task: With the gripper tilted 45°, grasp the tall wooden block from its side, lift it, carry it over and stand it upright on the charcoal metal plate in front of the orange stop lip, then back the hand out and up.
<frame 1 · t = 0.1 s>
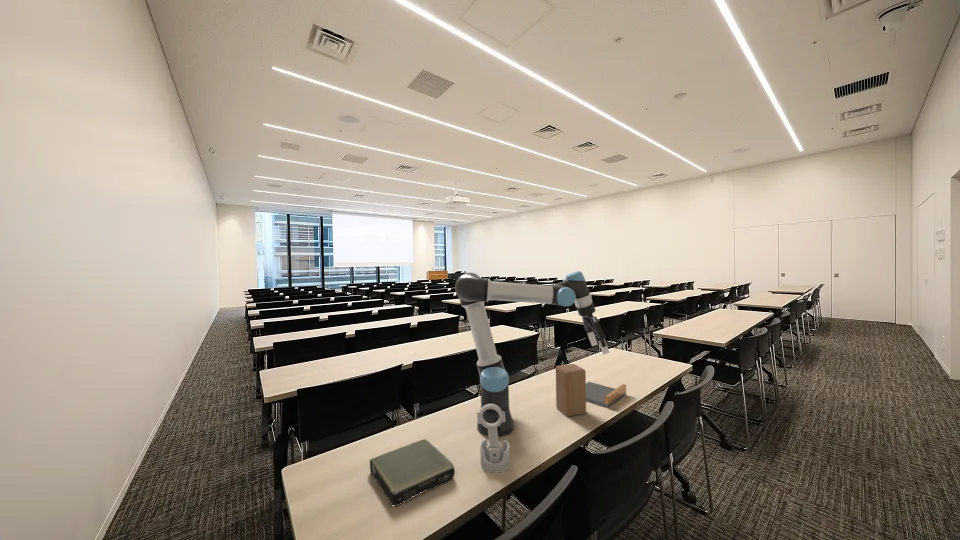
hand: (600, 349, 151), 28 cm above the table, tool tilted 20°, fingers open, 13 cm apart
mounting plate: (597, 395, 168), on the table
network switch: (412, 477, 110), on the table
wooden block: (570, 411, 152), on the table
engine component: (493, 463, 115), on the table
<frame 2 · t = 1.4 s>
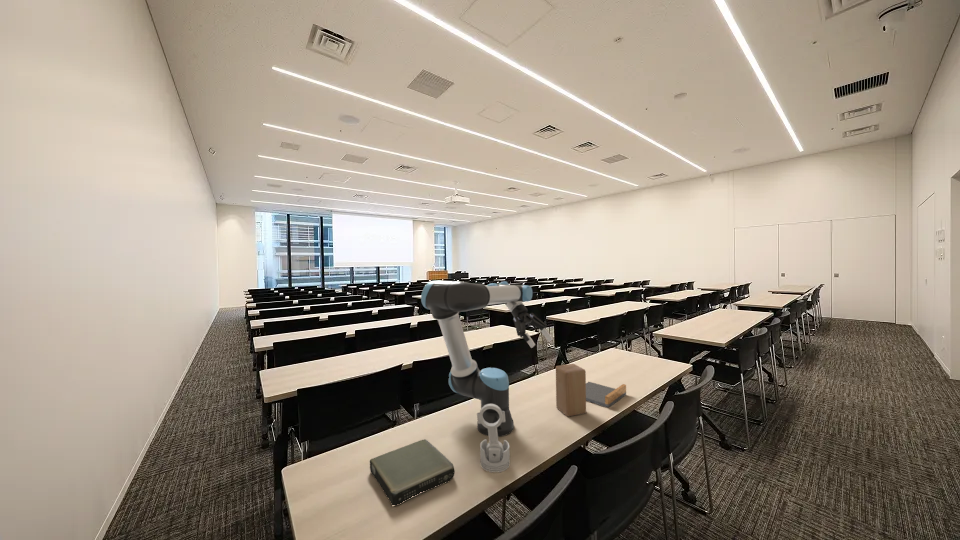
hand: (542, 343, 157), 30 cm above the table, tool tilted 45°, fingers open, 13 cm apart
nothing on the table moved.
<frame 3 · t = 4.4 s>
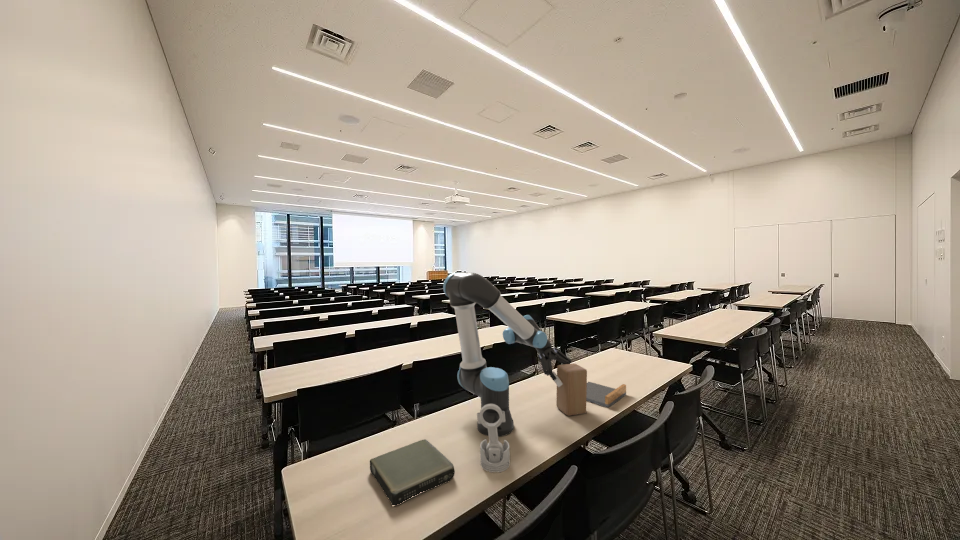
hand: (568, 381, 154), 13 cm above the table, tool tilted 45°, fingers open, 13 cm apart
nothing on the table moved.
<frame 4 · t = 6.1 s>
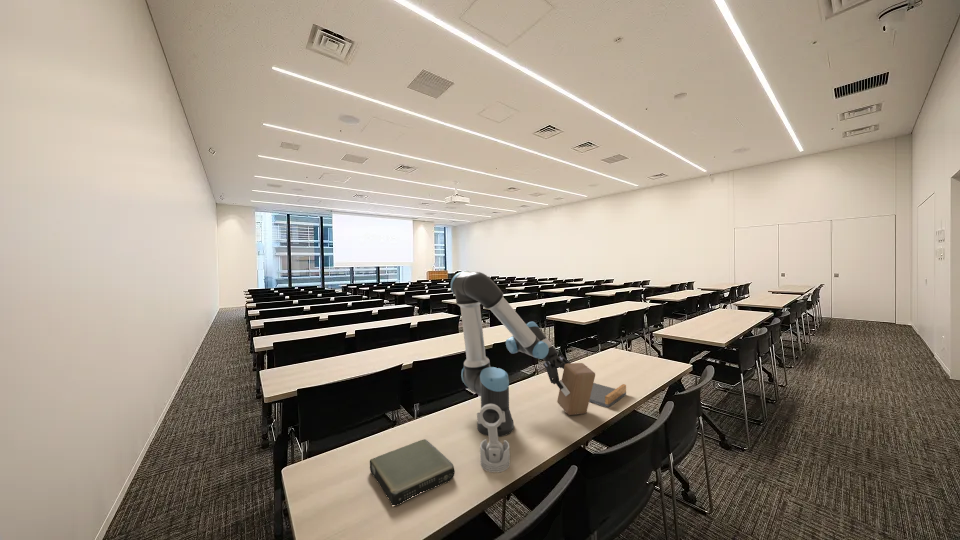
hand: (575, 390, 150), 10 cm above the table, tool tilted 45°, fingers closed on wooden block, 12 cm apart
wooden block: (571, 408, 152), point 1 cm above the table, touching gripper
everything else where it was.
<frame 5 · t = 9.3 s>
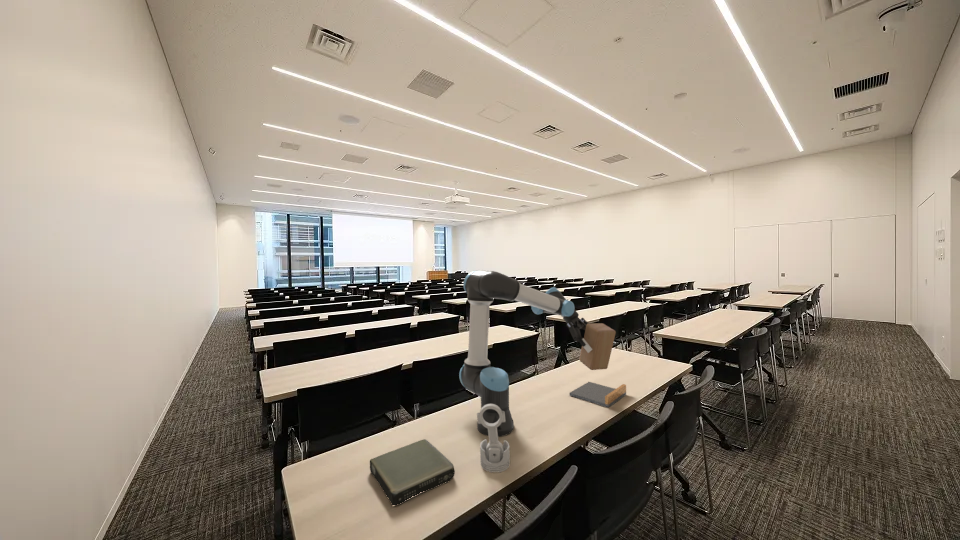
hand: (597, 348, 161), 26 cm above the table, tool tilted 45°, fingers closed on wooden block, 12 cm apart
wooden block: (592, 365, 163), point 17 cm above the table, touching gripper
everything else where it was.
when the fingers open (13 cm above the table, at t = 12.5 s): wooden block drops 3 cm, resting on mounting plate.
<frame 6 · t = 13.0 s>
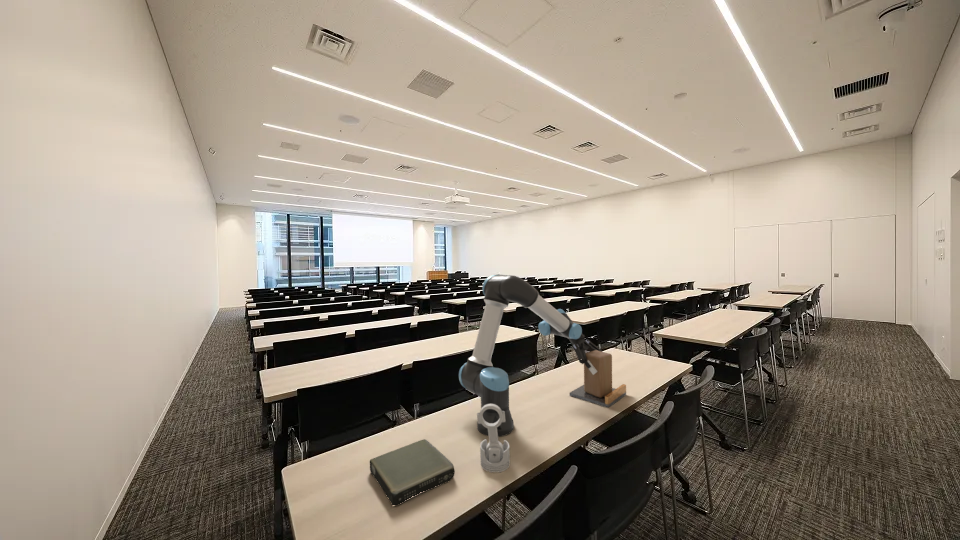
hand: (602, 369, 166), 13 cm above the table, tool tilted 45°, fingers open, 13 cm apart
wooden block: (598, 393, 167), point 1 cm above the table, touching mounting plate
everything else where it was.
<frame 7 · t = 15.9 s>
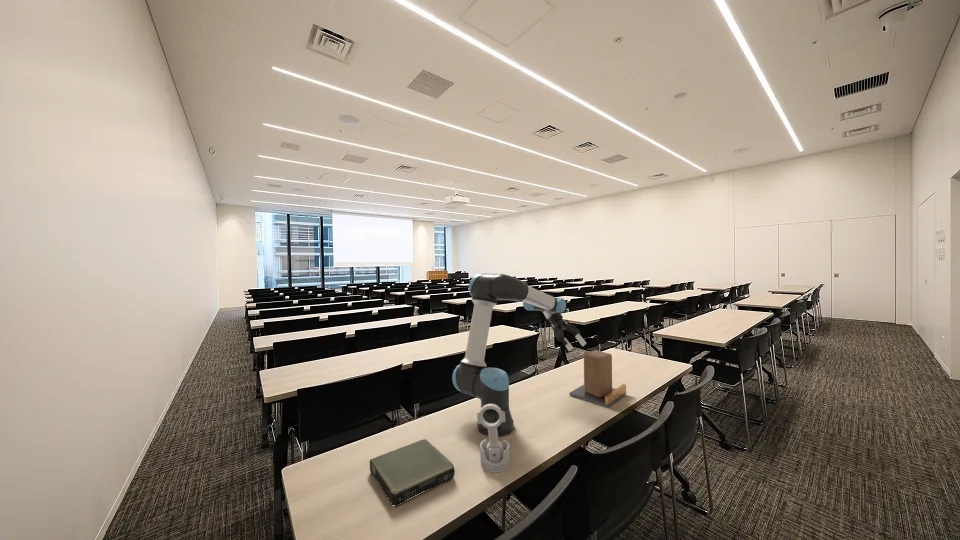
hand: (578, 347, 175), 22 cm above the table, tool tilted 45°, fingers open, 13 cm apart
nothing on the table moved.
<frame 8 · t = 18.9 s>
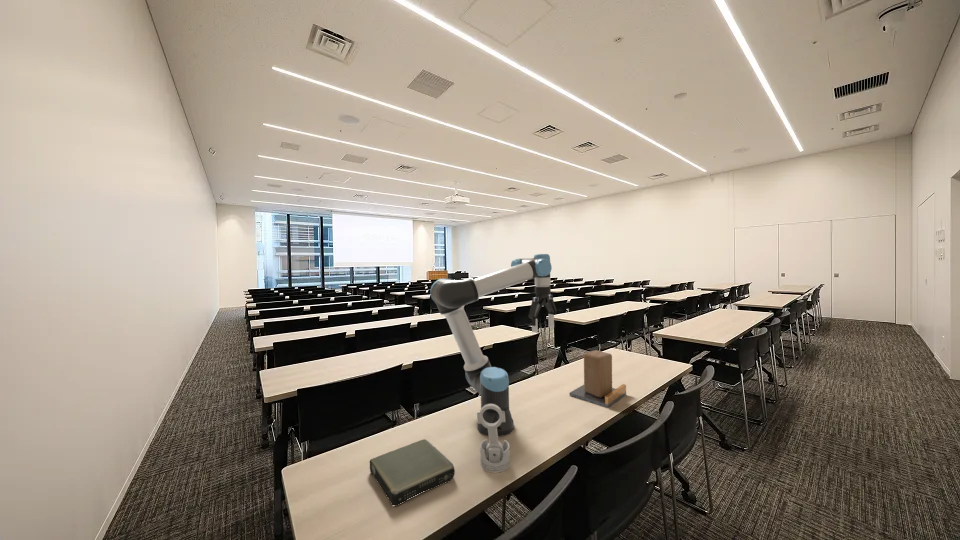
hand: (543, 329, 162), 35 cm above the table, tool pointing down, fingers open, 13 cm apart
nothing on the table moved.
at the end: wooden block inside the target area on the mounting plate (0.9 cm from its centre), point 1.3 cm above the mounting plate's base; wooden block tilted 0°; the gripper is holding nothing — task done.
